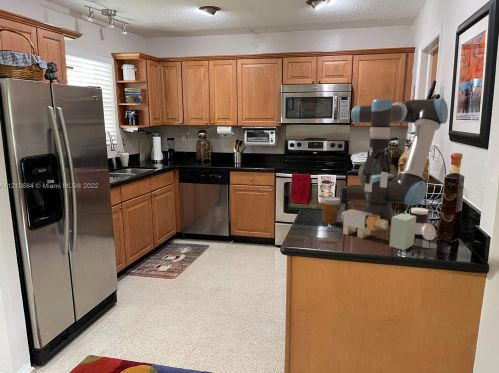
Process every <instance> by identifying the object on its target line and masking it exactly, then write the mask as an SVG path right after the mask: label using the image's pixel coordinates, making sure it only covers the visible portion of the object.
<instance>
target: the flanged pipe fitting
mask: <svg viewBox="0 0 499 373" xmlns="http://www.w3.org/2000/svg"><path fill="white" fill-rule="evenodd" d="M409 215H413V216H416V223H415V234H414V238H421V239H422V238H423V239H425V240H426V241H432V240H434V239H435V238H436V232H437V231H436V228H435V226H434V225H433V224H431V223H430V216H429V209H427V208H424V207H423V208H422V207H411V208H410V214H409Z"/></svg>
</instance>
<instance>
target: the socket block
mask: <svg viewBox="0 0 499 373" xmlns="http://www.w3.org/2000/svg"><path fill="white" fill-rule="evenodd" d="M393 216H394V217H392V220H391V223H390V231H389V232H390V236H389V245H388V246H389V247H390V248H391V247H392V248H395V249H398V250H402V251H405V250H407V249H409V248H410V247H412V246H414V243H415V242H414V240H415V237H414V234H415V223H416V216H413V215H410V214H408V213H407V214H406V213H402V212H401V213H398V214H396V215H393Z"/></svg>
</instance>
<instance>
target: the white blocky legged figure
mask: <svg viewBox="0 0 499 373" xmlns="http://www.w3.org/2000/svg"><path fill="white" fill-rule="evenodd" d="M363 211H364V210H363ZM363 211H361V210H356V209H353V208H352V209H348V210H344V211H343V212H344V220H343V223H342V224H343V225H342V229H343V230H342V234H344V235H348V236H349V235H350V234H353V233H355V232H357V235H356V236H357V237H356V238H359V239H364V238H367V237H369V236H370V235H371V233H372V232H371V231H372V230H368V229H367V226H366V225H365V219H366V216H371V215H372V213H368V212H363Z"/></svg>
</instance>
